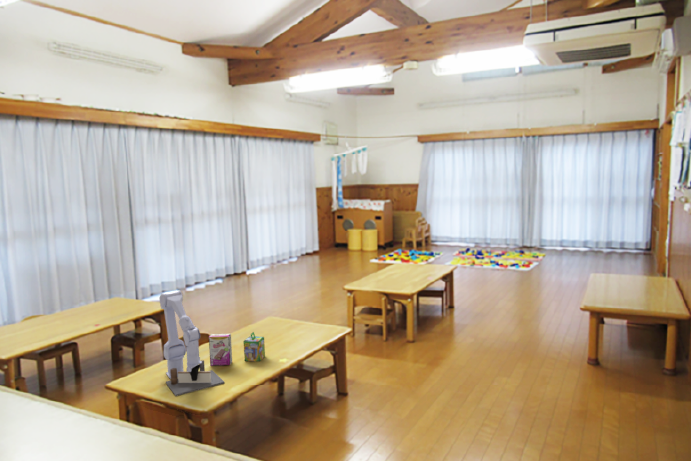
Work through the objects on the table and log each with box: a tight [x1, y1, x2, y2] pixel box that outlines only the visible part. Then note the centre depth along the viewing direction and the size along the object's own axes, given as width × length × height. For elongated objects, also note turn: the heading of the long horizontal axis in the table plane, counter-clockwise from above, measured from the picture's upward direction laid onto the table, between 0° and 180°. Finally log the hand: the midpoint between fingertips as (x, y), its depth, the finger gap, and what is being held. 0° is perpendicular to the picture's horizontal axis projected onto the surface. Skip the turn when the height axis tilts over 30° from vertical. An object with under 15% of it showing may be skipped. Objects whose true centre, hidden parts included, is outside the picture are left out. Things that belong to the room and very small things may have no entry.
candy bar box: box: [208, 333, 233, 367], centre depth 258 cm, size 11×5×16 cm, turn 92°
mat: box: [165, 369, 225, 397], centre depth 235 cm, size 18×24×1 cm
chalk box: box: [243, 331, 266, 362], centre depth 265 cm, size 9×9×15 cm
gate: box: [177, 370, 211, 383], centre depth 233 cm, size 16×1×5 cm, turn 88°
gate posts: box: [170, 359, 206, 385], centre depth 238 cm, size 3×17×8 cm, turn 133°
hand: (194, 380), depth 231 cm, fingers closed
